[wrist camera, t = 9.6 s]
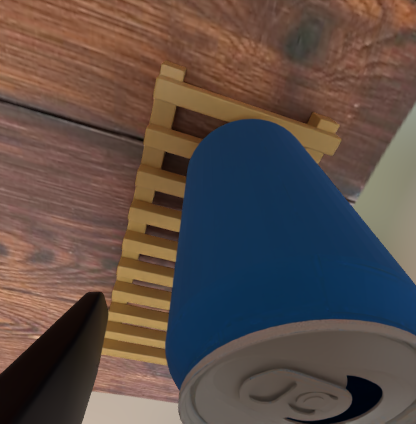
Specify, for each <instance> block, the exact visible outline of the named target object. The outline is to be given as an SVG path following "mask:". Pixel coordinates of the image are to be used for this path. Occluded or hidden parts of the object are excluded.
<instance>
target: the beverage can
mask: <svg viewBox="0 0 416 424" xmlns="http://www.w3.org/2000/svg"><path fill="white" fill-rule="evenodd" d="M165 354H166V360H167V364H168V368H169V371H170V374H171V376H172V378H173V380H174V382H175V384H176V386H177V387H178V389H179V390H180V392H179V404H178V409H179V415H180V419H181V421H182V423H183V424H416V285H415V284H414V283H413V281H412V280H411V279H410V277H409V276H408V275H407V274H406V273H405V271H404V270H403V269H402V268H401V266H400V265H399V264H398V263H397V261H396V260H395V259H394V258H393V257H392V255H391V254H390V253H389V252H388V250H387V249H386V248H385V247H384V245H383V244H382V243H381V242H380V241H379V239H378V238H377V237H376V236H375V234H374V233H373V232H372V231H371V230H370V228H369V227H368V226H367V225H366V223H365V222H364V221H363V220H362V219H361V217H360V216H359V215H358V213H357V212H356V211H355V210H354V208H353V207H352V206H351V205H350V204H349V202H348V201H347V200H346V199H345V197H344V196H343V195H342V194H341V192H340V191H339V190H338V189H337V188H336V186H335V185H334V184H333V183H332V181H331V180H330V179H329V178H328V176H327V175H326V174H325V173H324V172H323V170H322V169H321V168H320V167H319V165H318V164H317V163H316V162H315V160H314V159H313V158H312V157H311V156H310V154H309V153H308V152H307V151H306V149H305V148H304V147H303V146H302V144H301V143H300V142H299V141H298V140H297V138H296V137H295V136H294V135H293V134H292V133H291V132H289V131H288V130H287V129H285V128H284V127H282V126H280V125H278V124H276V123H273V122H270V121H267V120H261V119H242V120H237V121H233V122H230V123H227V124H224V125H222V126H220V127H218V128H217V129H215V130H214V131H212V132H211V133H210V134H208V135H207V136H206V137H205V138H204V139H203V140H202V141H201V142H200V143H199V145H198V146H197V148H196V149H195V151H194V152H193V154H192V156H191V159H190V162H189V165H188V170H187V176H186V184H185V192H184V200H183V208H182V216H181V223H180V231H179V239H178V247H177V255H176V263H175V270H174V278H173V286H172V294H171V302H170V310H169V317H168V325H167V333H166V341H165Z"/></svg>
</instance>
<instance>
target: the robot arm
mask: <svg viewBox="0 0 416 424" xmlns="http://www.w3.org/2000/svg"><path fill="white" fill-rule="evenodd" d="M108 316H109V313H108V308H107V304H106V301H105V297H104V294H103V293H102V292H88V293H86V294H85V295H84V296H83V297H82V298H81V299H80V300H79V301H77V302H76V303H75V304H74V305H73V306H72V307H71V308H70V309H69V310H68V311H67V312H66V313H65V314H64V315H63V316H62V317H61V318H59V319H58V320H57V321H56V322H55V323H54V324H53V325H52V326H51V327H50V328H49V329H48V330H47V331H46V332H45V333H44V334H43V335H41V336H40V337H39V338H38V339H37V340H36V341H35V342H34V343H33V344H32V345H31V346H30V347H29V348H28V349H27V350H26V351H25V352H23V353H22V354H21V355H20V356H19V357H18V358H17V359H16V360H15V361H14V362H13V363H12V364H11V365H10V366H9V367H8V368H7V369H5V370H4V371H3V372H2V373H1V374H0V424H82V421H83V418H84V414H85V411H86V408H87V405H88V401H89V398H90V395H91V392H92V389H93V385H94V382H95V379H96V375H97V372H98V367H99V363H100V358H101V353H102V347H103V342H104V337H105V332H106V327H107V322H108Z"/></svg>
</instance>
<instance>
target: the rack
mask: <svg viewBox="0 0 416 424" xmlns="http://www.w3.org/2000/svg"><path fill="white" fill-rule="evenodd" d="M186 70H187V68H186V67H183V66H180V65H177V64H174V63H172V62H169V61H164V62H163V63H162V64H161V69H160V74H159V76H158V77H157V78H156V83H155V88H154V92H153V98H154V103H153V107H152V112H151V117H150V122H149V125H148V126H147V128H146V131H145V136H144V141H143V145H145V146H144V150H143V155H142V160H141V164H140V166H139V168H138V171H137V175H136V180H135V185H136V188H135V193H134V198H133V201H132V203H131V206H130V209H129V214H128V220H129V222H128V227H127V230H126V233H125V236H124V238H123V243H122V248H121V249H122V255H121V259H120V261H119V264H118V267H117V272H116V275H117V279H116V282H115V285H114V288H113V291H112V296H111V298H112V302H111V305H110V308H109V311H108V313H109V316H108V322H107V327H106V332H105V337H104V342H103V347H102V353H101V354H103V355H109V356H114V357H120V358H126V359H132V360H138V361H144V362H150V363H156V364H162V365H167V366H168V364H167V360H166V354H165V349H162V348H165V341H166V333H167V332H164V331H159V330H154V329H148V328H143V327H138V326H133V325H127V324H122V322H124V323H129V324H135V325H140V326H145V327H150V328H156V329H161V330H166V331H167V325H168V317H169V313H166V312H161V311H156V310H151V309H146V308H141V307H136V306H131V305H127V303H128V302H131V303H136V304H141V305H146V306H150V307H155V308H160V309H165V310H170V302H171V294H172V292H168V291H164V290H159V289H154V288H149V287H145V286H140V285H135V284H132V283H133V279H136V280H140V281H145V282H149V283H154V284H159V285H163V286H168V287H172V286H173V278H174V270H175V269H173V268H169V267H164V266H160V265H156V264H151V263H147V262H142V261H138V259H139V255H140V254H143V255H148V256H152V257H156V258H161V259H165V260H169V261H174V262H176V255H177V247H178V242H176V241H172V240H168V239H164V238H160V237H156V236H152V235H148V234H145V232H146V228H147V224H148V225H152V226H156V227H160V228H164V229H168V230H172V231H176V232H179V231H180V223H181V216H182V211H178V210H174V209H170V208H166V207H162V206H159V205H155V204H153V200H154V196H155V192H156V191H159V192H163V193H166V194H170V195H174V196H177V197H181V198H184V192H185V184H186V176H182V175H179V174H175V173H172V172H168V171H165V170H161V168H162V164H163V160H164V157H165V153H166V152H169V153H172V154H176V155H179V156H183V157H186V158H189V159H191V156H192V154H193V152H194V151H195V149H196V148H197V146H198V145H199V143H200V142H201V141H202V140H203V139H201V138H197V137H194V136H191V135H188V134H184V133H181V132H178V131H175V130H172V125H173V121H174V117H175V113H176V109H177V106H179V107H182V108H186V109H189V110H192V111H195V112H198V113H201V114H204V115H207V116H210V117H213V118H216V119H219V120H222V121H226V122H229V123H230V122H233V121H237V120H242V119H261V120H267V121H270V122H273V123H276V124H278V125H280V126H282V127H284V128H285V129H287V130H288V131H289V132H291V133H292V134H293V135H294V136H295V137H296V138H297V140H298V141H299V142H300V143H301V144H302V146H303V147H304V148H305V149H306V151H307V152H308V153H309V154H310V156H311V157H312V158H313V159H314V160H315V162H316V163H317V164H318V163H319V162H320V160H321V158H322V156H323V154H327V155H330V156H333V154H334V153H335V151H336V149H337V147H338V146H339V144H340V142H341V140H342V139H341V138H339V137H338V136H337V135H336V134H335V133H336V131H337V129H338V128H339V126H340V125H339V124H338V123H336V122H335V121H334V120H332V119H331V118H329V117H326V116H323V115H320V114H317V113H315V112H313V113H312V115H311V117H310V119H309V121H308V123H307V124H305V123H302V122H299V121H296V120H293V119H290V118H287V117H284V116H281V115H278V114H275V113H272V112H269V111H266V110H263V109H261V108H258V107H255V106H252V105H249V104H246V103H243V102H240V101H237V100H234V99H231V98H228V97H225V96H222V95H219V94H216V93H213V92H211V91H208V90H205V89H202V88H199V87H196V86H193V85H190V84H187V83H184V82H183V81H184V77H185V74H186ZM118 340H120V341H118ZM123 341H126V342H123ZM129 342H131V343H129ZM135 343H137V344H135ZM140 344H142V345H140ZM146 345H148V346H146ZM151 346H153V347H151ZM157 347H159V348H157Z"/></svg>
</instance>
